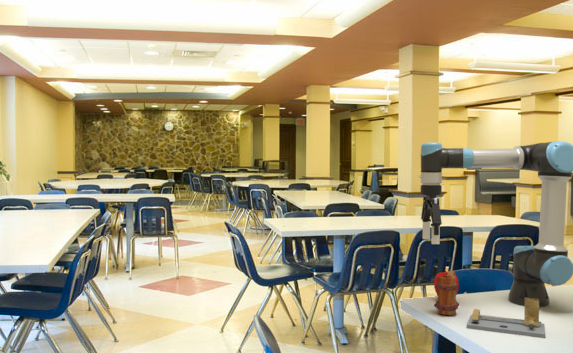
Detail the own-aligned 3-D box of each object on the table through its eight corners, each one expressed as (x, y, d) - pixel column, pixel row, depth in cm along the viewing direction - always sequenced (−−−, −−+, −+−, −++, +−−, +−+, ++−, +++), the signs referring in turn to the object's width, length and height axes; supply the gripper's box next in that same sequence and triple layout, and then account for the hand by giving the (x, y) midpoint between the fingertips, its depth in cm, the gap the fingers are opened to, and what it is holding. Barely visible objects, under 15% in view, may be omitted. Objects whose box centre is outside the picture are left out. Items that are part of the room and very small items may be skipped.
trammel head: (538, 323, 180) (538, 298, 180) (538, 330, 172) (539, 304, 172) (524, 321, 182) (524, 297, 181) (524, 328, 174) (524, 303, 174)
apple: (445, 296, 223) (446, 267, 223) (464, 301, 215) (464, 271, 215) (428, 299, 218) (429, 270, 218) (447, 304, 210) (447, 274, 210)
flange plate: (544, 327, 181) (544, 323, 181) (545, 338, 169) (545, 334, 169) (470, 318, 191) (470, 314, 191) (466, 328, 179) (466, 324, 179)
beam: (541, 325, 178) (541, 316, 178) (541, 331, 171) (541, 322, 171) (472, 317, 187) (472, 308, 187) (470, 323, 181) (470, 313, 181)
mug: (454, 318, 190) (454, 277, 190) (432, 315, 195) (432, 274, 194) (464, 309, 203) (464, 270, 202) (442, 306, 207) (443, 268, 207)
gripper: (413, 183, 208) (413, 237, 208) (429, 185, 183) (428, 246, 183) (432, 183, 208) (432, 237, 208) (451, 185, 183) (450, 246, 183)
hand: (430, 241), depth 196 cm, fingers open, 13 cm apart
